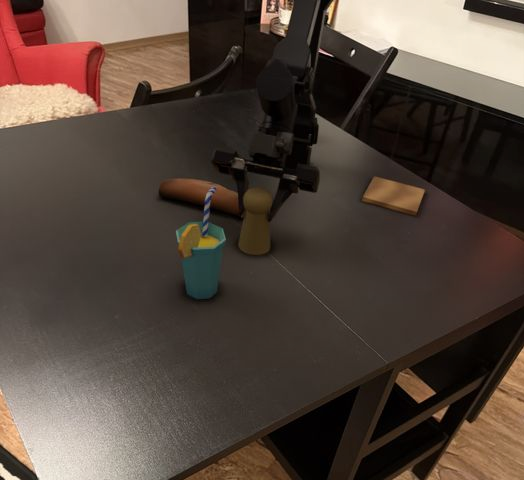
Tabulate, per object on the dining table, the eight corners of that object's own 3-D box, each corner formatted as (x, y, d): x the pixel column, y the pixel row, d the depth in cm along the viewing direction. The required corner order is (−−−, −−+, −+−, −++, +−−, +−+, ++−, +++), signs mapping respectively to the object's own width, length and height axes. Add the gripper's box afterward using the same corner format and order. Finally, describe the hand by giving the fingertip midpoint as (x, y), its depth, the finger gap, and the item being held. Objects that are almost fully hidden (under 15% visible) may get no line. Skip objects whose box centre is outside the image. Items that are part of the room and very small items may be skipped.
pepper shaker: (266, 257, 87) (272, 203, 79) (234, 251, 88) (237, 196, 80) (273, 239, 91) (279, 186, 83) (242, 233, 92) (245, 180, 84)
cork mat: (361, 200, 105) (362, 196, 104) (373, 180, 112) (374, 176, 111) (415, 215, 102) (417, 211, 102) (423, 193, 110) (425, 189, 109)
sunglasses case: (254, 198, 100) (250, 180, 94) (243, 228, 99) (239, 211, 92) (176, 179, 103) (167, 160, 97) (164, 207, 102) (154, 190, 95)
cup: (191, 258, 85) (189, 178, 74) (234, 265, 85) (238, 187, 74) (167, 308, 76) (161, 225, 65) (215, 317, 75) (216, 235, 64)
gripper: (214, 97, 76) (192, 193, 77) (329, 118, 74) (305, 217, 75) (228, 128, 87) (208, 212, 88) (327, 147, 85) (307, 233, 86)
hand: (254, 218), depth 84 cm, fingers closed on pepper shaker, 5 cm apart
